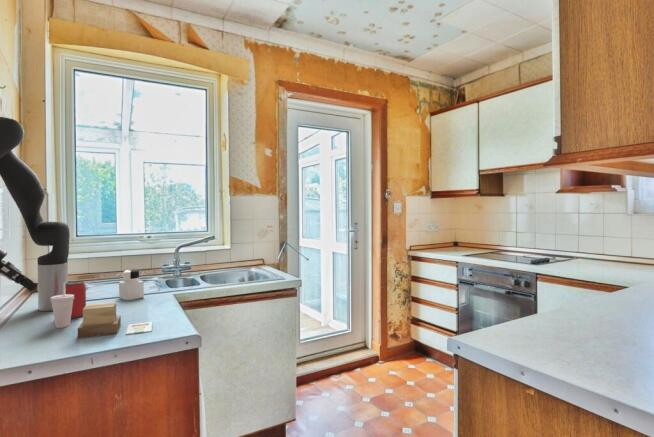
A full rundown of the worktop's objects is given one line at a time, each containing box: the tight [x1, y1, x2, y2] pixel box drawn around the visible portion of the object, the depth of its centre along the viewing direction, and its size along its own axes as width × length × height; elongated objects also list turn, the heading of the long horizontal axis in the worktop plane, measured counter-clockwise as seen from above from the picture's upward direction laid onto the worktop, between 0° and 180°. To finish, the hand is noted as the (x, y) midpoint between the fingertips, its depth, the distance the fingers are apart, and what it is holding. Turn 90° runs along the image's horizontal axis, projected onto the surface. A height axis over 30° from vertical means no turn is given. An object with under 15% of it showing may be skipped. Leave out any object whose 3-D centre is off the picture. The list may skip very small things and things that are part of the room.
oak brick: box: [82, 301, 117, 326], centre depth 113 cm, size 6×8×5 cm
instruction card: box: [125, 321, 153, 336], centre depth 116 cm, size 10×7×1 cm
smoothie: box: [50, 283, 74, 329], centre depth 118 cm, size 6×6×14 cm
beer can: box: [65, 280, 87, 319], centre depth 130 cm, size 7×7×12 cm
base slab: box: [77, 315, 122, 339], centre depth 113 cm, size 10×10×3 cm
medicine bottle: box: [118, 269, 145, 301], centre depth 157 cm, size 7×7×12 cm
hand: (32, 286), depth 113 cm, fingers open, 8 cm apart
